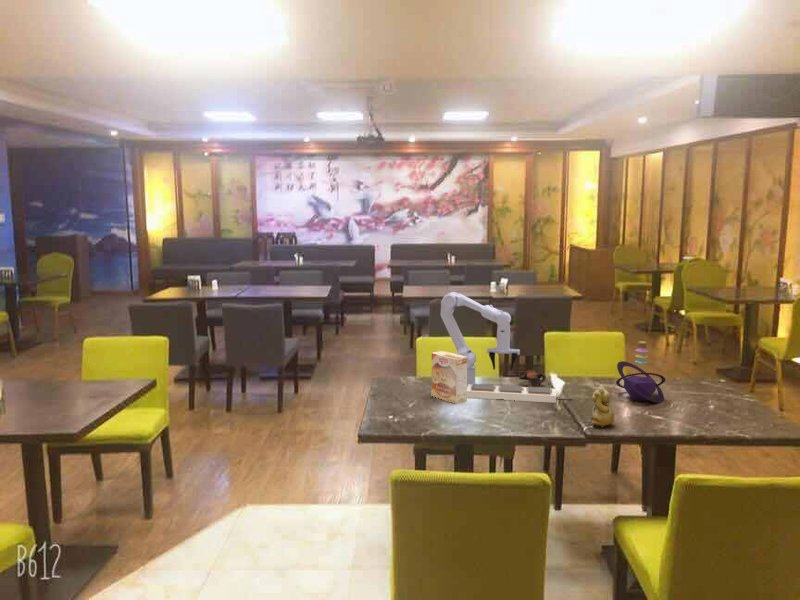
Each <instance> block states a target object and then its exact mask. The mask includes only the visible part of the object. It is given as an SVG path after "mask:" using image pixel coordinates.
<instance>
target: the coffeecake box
mask: <svg viewBox="0 0 800 600" xmlns="http://www.w3.org/2000/svg"><path fill="white" fill-rule="evenodd" d="M430 391H431V393H430V395H431V397H432V396H433V397H432V398H435V397H436V398H435V399H438V398H439V399H438V400H441V399H442V401H446V402H448V403H451V402H452V403H451V404H454V403H455V405H457V403H458V404H460V402H461V403H465V402H467V401H468V398H467V356H462V355H458V354H457V353H453V352H451V351H450V352H449V351H445V350H440V351H435V352H434V351H433V352H431V389H430ZM464 401H465V402H464Z"/></svg>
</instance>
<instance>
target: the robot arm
mask: <svg viewBox="0 0 800 600" xmlns="http://www.w3.org/2000/svg"><path fill="white" fill-rule="evenodd" d="M462 306H465V307H467V308H470V309H472V310H474V311H476V312H479V313H480V314H481V316H482V317H483V318H485V319H487V320H490V321H491V322H494V323H496V324H497V330H496V347H492V348H491V347H490V348H489V347H488V348H486V354H488V356H489V358H490V361H491V364H492V370H496V354H500V355H501V354H502V355H503V354H506V355H507V354H508V355H511V356H510V357H511V358H510V359H511V361H510V371H513V367H514V364H515V362H516V360H517V358H518V355H521V353H520V352H521V350H520V349H517V348H511V347H510V346H511V324H510V323H511V321H512V315H510V314H511V313H509V312H508V311H503V310H502V309H498V308H495V307H493V304H485V305H482V304H481V303H479V302H477V301H475V300H474V299H471V298H470V297H468V296H466V295H464V294H463V293H459V292H456V291H451V292H449V293H447V294H445V295H444V296H443V297H442V300H440V314H439V315H440V317H441V320H442V322H443V323H444V326H445V328H446V331H447V333H448V335H449V337H450V338H451V340H452V343H453V345H454V347H455V349H456V354H458V355H462V356H467V387H468V384H472V385H473V384H477V383H476V365H475V363H476V361H477V355H476V353H474V352H473V351H472V349H471V347H470V346H469V345H468V344H467V343H466V340H465V338H464V336H463V334H462V332H461V330H460V328H459V325H458V323H457V321H456V318H455V317H454V315H453V314H454V311H455V309H456V308H457V307H462Z"/></svg>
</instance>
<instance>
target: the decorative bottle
mask: <svg viewBox="0 0 800 600" xmlns="http://www.w3.org/2000/svg"><path fill="white" fill-rule="evenodd" d="M647 344H648V343H647V341H644V340H643V341H641V340H639V341H637V345H638V347H637V348H635V350H634V351H635V353H637V354H635V355H634V357H635V358H637V359H635V361H634V363H635V364H637V365H638V364H640V365H647V364H649V362H648V361H647V360H646V359H648V358H649V355H647V354H646V353H649V352H650V351H649V350H648V349H647ZM634 363H631V362H628V361H619V362H618V363H617V364H616V367H617V371H618V374H619V375H620V378H618V379H617V380H616V382H615V384H616V385H617V386H618V387H619V388H622V389H624V390H625V391H626V393H627V394H628V395H629V397H630V398H631V399H632V400H633V401H639V402H646V401H648V402H649V401H650V402H653V403H655V404H657V403H658V404H661V403H662V402H664V399H665V397H664V393H663V390H662V389H661V387H660V386H661V385H663V384H664V383H666V380H667V379H666V378H665V376H664V375H661V374H659V373H653V372H647V371H644V369H642V368H641V367H640V366H639V367H638V366H637V365H635V364H634ZM625 367H630V368H633V369H635V370H636V371H638V372H637V373H636V372H635V373H633V372H631V373H629V374H626V375H625V373H624V368H625ZM650 375H651V376H656V377H659V378H660V379H661V381H660V382H658V383H657V382H656V381H655V380H654V378H653V377H651V376H650ZM622 380H623V385H621V381H622ZM656 391H657V396H656V397H651V396H653V394H654V393H655V392H656Z"/></svg>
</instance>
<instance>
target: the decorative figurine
mask: <svg viewBox="0 0 800 600" xmlns="http://www.w3.org/2000/svg"><path fill="white" fill-rule="evenodd" d="M591 399H592V400H593V402H594V403H595V404H594V405H593V406H592V410H591V411H592V412H591V423H592V426H593V425H596V426H595V427H599V426H601V427H600V428H603V427H605V426H606V425H607V426H608V425H611V424H614V422H615V412H614V409H613V407H612V406H611V405H610V399H611V394H610V392H608V391H607V389H606V387H605V386H604V385H603V384H601V383H600V384H599V386H598V387H597V389H596V390H595V391H593V393H592V397H591ZM607 426H606V427H607ZM606 427H605V428H606Z"/></svg>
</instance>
